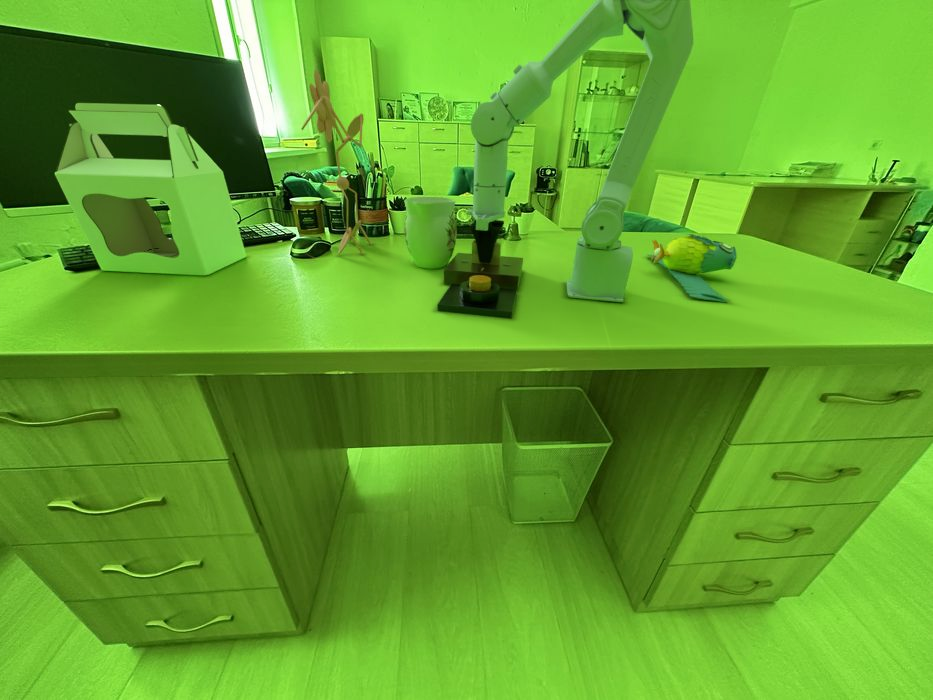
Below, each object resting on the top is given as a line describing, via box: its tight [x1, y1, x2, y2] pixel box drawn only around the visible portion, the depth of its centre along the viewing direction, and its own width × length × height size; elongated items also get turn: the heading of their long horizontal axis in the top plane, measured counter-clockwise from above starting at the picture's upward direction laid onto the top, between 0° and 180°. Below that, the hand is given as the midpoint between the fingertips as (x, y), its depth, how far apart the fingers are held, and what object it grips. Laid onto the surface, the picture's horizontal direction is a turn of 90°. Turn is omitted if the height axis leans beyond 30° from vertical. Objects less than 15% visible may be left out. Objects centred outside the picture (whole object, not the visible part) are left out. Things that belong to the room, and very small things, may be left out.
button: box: [469, 275, 491, 291], centre depth 61 cm, size 4×4×2 cm
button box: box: [437, 281, 518, 319], centre depth 62 cm, size 12×10×3 cm
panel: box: [443, 252, 524, 292], centre depth 73 cm, size 14×12×3 cm
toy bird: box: [646, 233, 738, 303], centre depth 75 cm, size 28×9×15 cm
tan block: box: [471, 239, 502, 265], centre depth 71 cm, size 6×2×4 cm, turn 79°
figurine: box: [300, 69, 379, 259], centre depth 81 cm, size 15×26×35 cm, turn 0°
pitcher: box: [403, 196, 458, 270], centre depth 78 cm, size 11×18×14 cm, turn 174°
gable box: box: [54, 102, 247, 277], centre depth 70 cm, size 22×13×28 cm, turn 86°
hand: (485, 260), depth 72 cm, fingers closed on tan block, 2 cm apart
